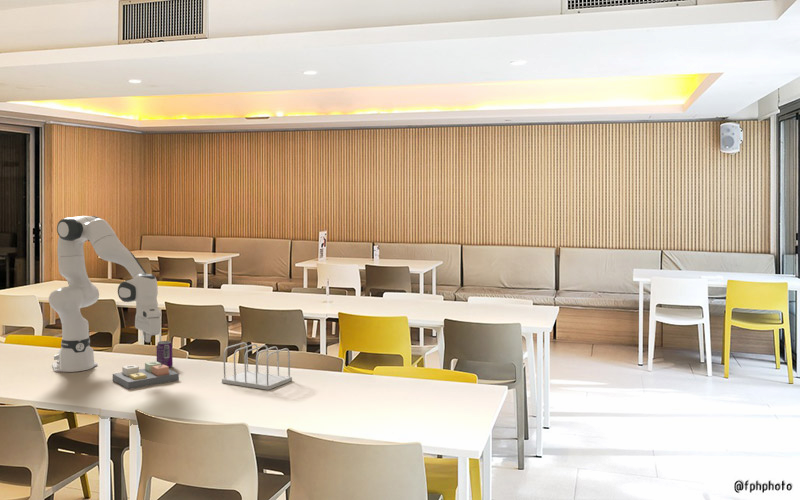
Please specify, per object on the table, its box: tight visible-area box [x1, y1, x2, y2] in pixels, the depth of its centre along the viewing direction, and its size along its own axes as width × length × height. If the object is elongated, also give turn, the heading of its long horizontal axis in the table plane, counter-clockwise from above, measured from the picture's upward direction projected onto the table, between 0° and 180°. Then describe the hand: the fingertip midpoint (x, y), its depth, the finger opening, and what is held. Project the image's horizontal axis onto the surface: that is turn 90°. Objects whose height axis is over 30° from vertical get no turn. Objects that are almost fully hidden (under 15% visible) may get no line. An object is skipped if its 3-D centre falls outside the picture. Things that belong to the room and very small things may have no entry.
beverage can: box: [156, 340, 174, 369], centre depth 320 cm, size 7×7×12 cm
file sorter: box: [221, 341, 293, 391], centre depth 296 cm, size 25×17×16 cm
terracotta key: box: [152, 365, 170, 376], centre depth 297 cm, size 5×5×3 cm
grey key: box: [121, 364, 140, 376], centre depth 296 cm, size 5×5×3 cm
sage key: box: [144, 360, 161, 372], centre depth 303 cm, size 5×5×3 cm
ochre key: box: [130, 373, 146, 380], centre depth 291 cm, size 5×5×3 cm
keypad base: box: [112, 368, 180, 390], centre depth 297 cm, size 18×22×3 cm
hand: (147, 341), depth 298 cm, fingers closed
